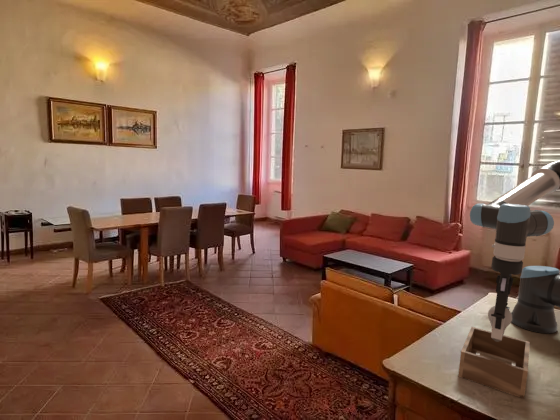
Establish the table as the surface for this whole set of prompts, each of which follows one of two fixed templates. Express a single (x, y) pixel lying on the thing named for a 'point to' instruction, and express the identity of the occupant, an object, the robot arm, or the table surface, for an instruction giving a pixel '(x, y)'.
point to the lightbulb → (507, 321)
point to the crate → (495, 362)
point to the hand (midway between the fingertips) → (497, 333)
